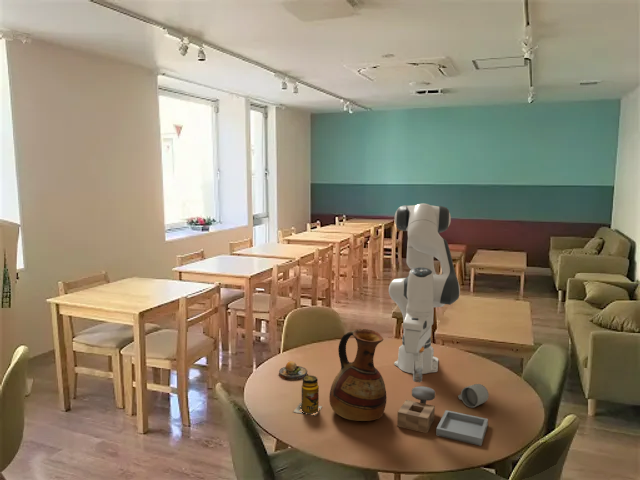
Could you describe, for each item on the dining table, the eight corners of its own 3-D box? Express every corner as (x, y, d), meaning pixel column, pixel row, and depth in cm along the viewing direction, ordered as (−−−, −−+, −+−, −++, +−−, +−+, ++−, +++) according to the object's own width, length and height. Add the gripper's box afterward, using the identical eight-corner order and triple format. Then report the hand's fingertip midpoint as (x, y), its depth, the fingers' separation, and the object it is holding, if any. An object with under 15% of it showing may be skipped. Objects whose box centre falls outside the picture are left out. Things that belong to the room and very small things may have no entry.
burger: (312, 376, 206) (312, 359, 206) (288, 383, 200) (288, 365, 199) (297, 367, 216) (297, 350, 215) (273, 373, 210) (273, 356, 209)
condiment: (315, 416, 172) (316, 383, 171) (293, 412, 175) (293, 379, 173) (322, 406, 179) (322, 375, 178) (300, 403, 182) (300, 372, 180)
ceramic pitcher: (371, 434, 161) (373, 344, 157) (318, 417, 171) (318, 333, 167) (395, 410, 177) (397, 328, 173) (345, 396, 188) (347, 319, 184)
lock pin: (413, 377, 169) (414, 344, 167) (424, 379, 167) (425, 346, 165) (410, 381, 165) (411, 348, 164) (421, 383, 164) (422, 349, 162)
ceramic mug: (489, 404, 182) (490, 385, 181) (477, 410, 177) (478, 390, 176) (465, 395, 190) (466, 376, 189) (453, 401, 185) (453, 382, 184)
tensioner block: (412, 404, 182) (412, 384, 181) (439, 409, 177) (440, 389, 176) (397, 426, 166) (397, 404, 165) (426, 433, 161) (427, 411, 160)
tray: (445, 416, 173) (445, 410, 172) (487, 425, 167) (488, 418, 166) (436, 435, 160) (436, 428, 160) (481, 446, 154) (481, 438, 154)
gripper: (418, 308, 174) (417, 346, 176) (401, 324, 156) (400, 367, 157) (436, 311, 171) (435, 349, 173) (421, 327, 153) (419, 370, 155)
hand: (418, 358), depth 165 cm, fingers closed on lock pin, 3 cm apart
